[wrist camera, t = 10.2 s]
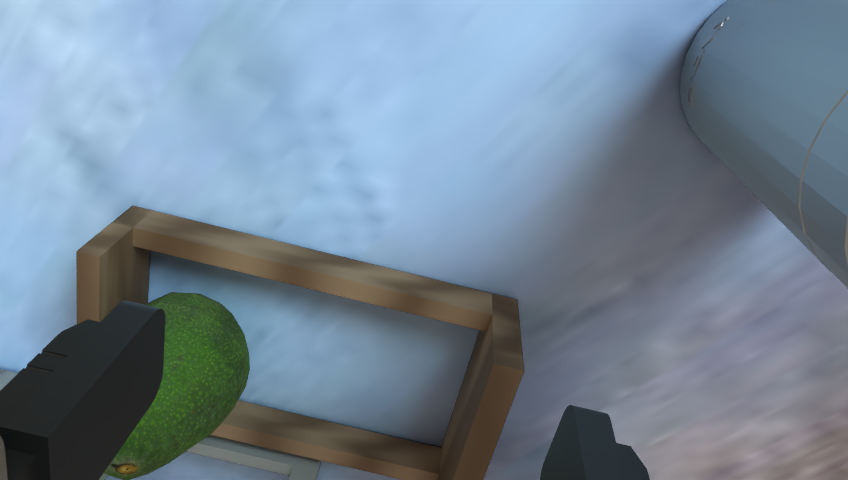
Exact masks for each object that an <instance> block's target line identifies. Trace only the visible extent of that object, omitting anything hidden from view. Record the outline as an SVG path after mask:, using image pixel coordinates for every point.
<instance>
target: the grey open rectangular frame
mask: <svg viewBox="0 0 848 480" xmlns="http://www.w3.org/2000/svg"><path fill="white" fill-rule="evenodd" d="M17 374H18V373H15V372H11V371H7V370H2V369H0V390H1V389H2V388H3V387H5V386H6V385H7V384H8V383H9V382H10V381H11V380H12V379H13V378H14V377H15V376H16V375H17ZM186 452H190V453H194V454H199V455H203V456H207V457H211V458H216V459H220V460H224V461H229V462H233V463H237V464H241V465H246V466H250V467H254V468H259V469H263V470H267V471H272V472H276V473H280V474H284V475H289V476H290V477H289V480H317V477H318V472H319V468H320V463H321V460H316V459H312V458H308V457H304V456H299V455H295V454H291V453H287V452H282V451H278V450H274V449H269V448H265V447H261V446H257V445H252V444H248V443H244V442H240V441H235V440H231V439H227V438H222V437H218V436H214V435H209V436H207V437H206V438H204V439H203V440H202V441H200V442H199V443H197V444H196V445H194V446H193V447H191V448H190V449H188V450H187V451H186Z"/></svg>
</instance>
